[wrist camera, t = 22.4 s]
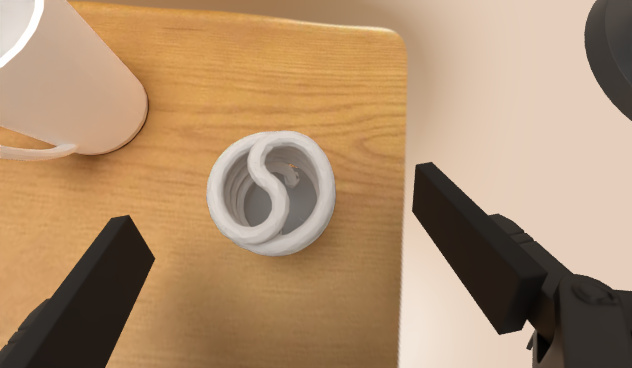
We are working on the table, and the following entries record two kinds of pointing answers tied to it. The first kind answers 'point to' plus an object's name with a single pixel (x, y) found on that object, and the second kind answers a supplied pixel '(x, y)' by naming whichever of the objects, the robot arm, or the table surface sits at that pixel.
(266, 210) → the light bulb
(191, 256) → the table surface
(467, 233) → the robot arm
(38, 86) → the mug
